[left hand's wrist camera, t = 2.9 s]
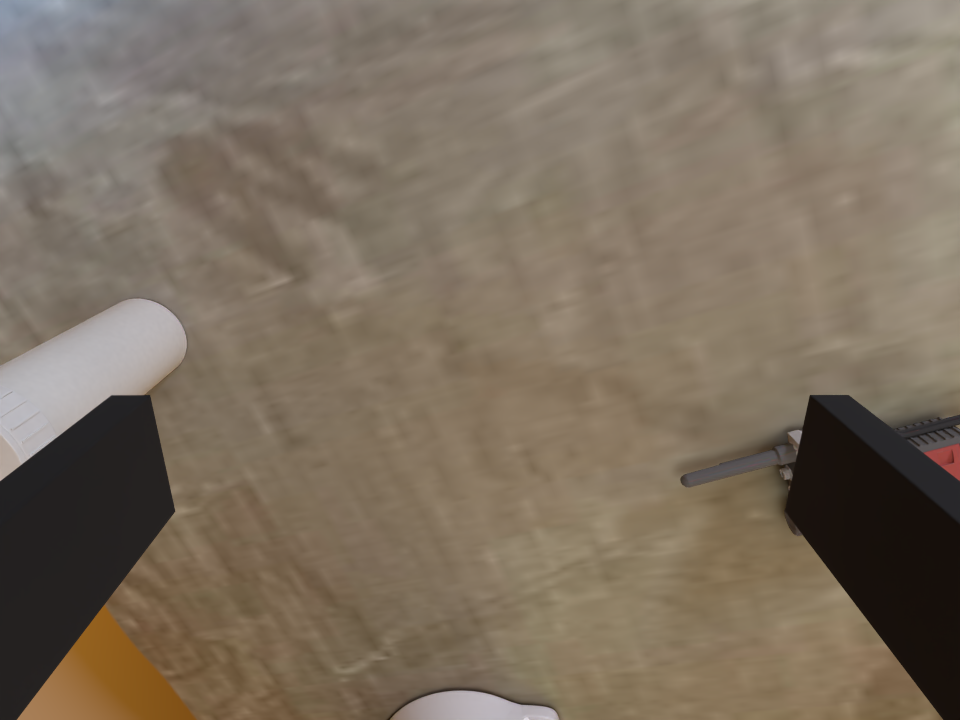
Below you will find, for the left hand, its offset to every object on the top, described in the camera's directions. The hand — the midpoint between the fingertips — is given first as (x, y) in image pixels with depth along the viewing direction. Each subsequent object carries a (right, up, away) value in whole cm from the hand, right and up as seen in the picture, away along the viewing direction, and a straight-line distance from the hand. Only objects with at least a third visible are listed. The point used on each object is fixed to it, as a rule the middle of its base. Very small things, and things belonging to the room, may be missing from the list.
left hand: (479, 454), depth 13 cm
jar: (-22, +3, +29) cm, 37 cm away
